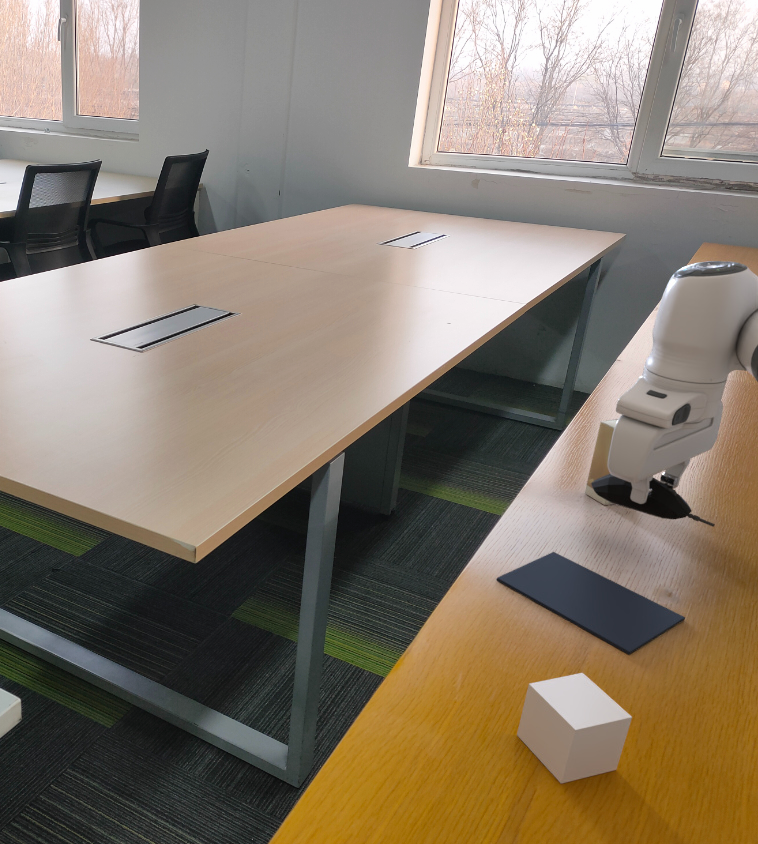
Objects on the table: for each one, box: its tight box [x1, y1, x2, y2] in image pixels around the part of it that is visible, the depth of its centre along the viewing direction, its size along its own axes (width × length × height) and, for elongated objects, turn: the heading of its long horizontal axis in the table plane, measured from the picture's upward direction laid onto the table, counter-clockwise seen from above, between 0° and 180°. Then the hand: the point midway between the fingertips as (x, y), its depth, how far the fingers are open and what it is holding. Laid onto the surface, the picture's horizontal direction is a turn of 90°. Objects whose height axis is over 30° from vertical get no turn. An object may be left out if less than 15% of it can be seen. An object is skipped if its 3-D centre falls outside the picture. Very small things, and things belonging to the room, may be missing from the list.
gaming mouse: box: [591, 474, 716, 528], centre depth 104 cm, size 6×15×4 cm, turn 44°
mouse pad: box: [496, 551, 686, 655], centre depth 96 cm, size 17×12×1 cm
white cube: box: [516, 672, 633, 784], centre depth 72 cm, size 6×6×6 cm
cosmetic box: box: [584, 418, 619, 506], centre depth 120 cm, size 6×4×12 cm
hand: (653, 494), depth 104 cm, fingers closed on gaming mouse, 5 cm apart
